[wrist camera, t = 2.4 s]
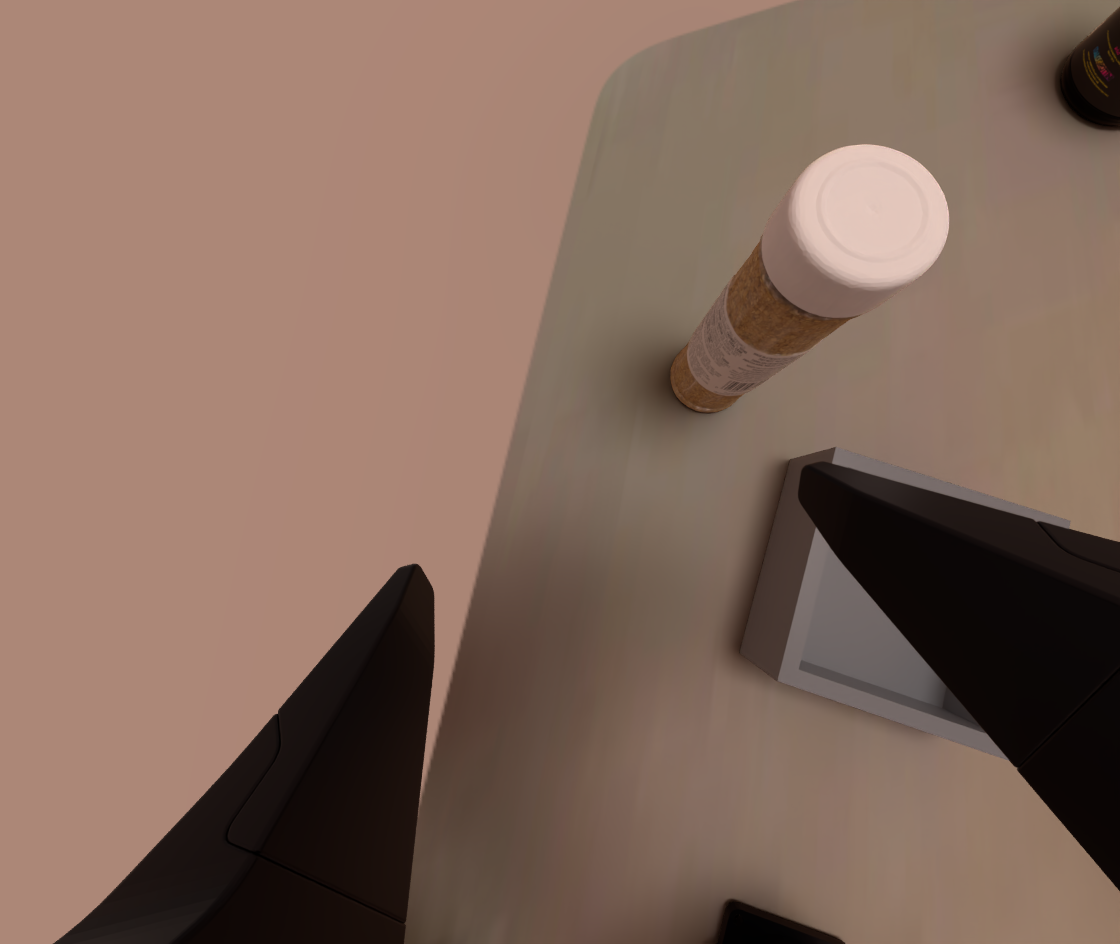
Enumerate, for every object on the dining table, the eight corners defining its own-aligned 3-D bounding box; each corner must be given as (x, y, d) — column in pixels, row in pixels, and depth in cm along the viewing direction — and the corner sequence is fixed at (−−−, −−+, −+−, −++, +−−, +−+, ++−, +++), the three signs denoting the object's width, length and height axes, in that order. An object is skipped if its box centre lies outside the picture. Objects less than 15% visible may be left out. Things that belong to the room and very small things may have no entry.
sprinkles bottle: (743, 347, 25) (957, 141, 11) (740, 418, 24) (961, 291, 11) (669, 340, 25) (796, 128, 11) (664, 411, 24) (791, 276, 11)
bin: (983, 520, 23) (1070, 520, 19) (943, 722, 22) (1027, 766, 18) (790, 459, 24) (836, 447, 20) (739, 652, 22) (777, 680, 18)
